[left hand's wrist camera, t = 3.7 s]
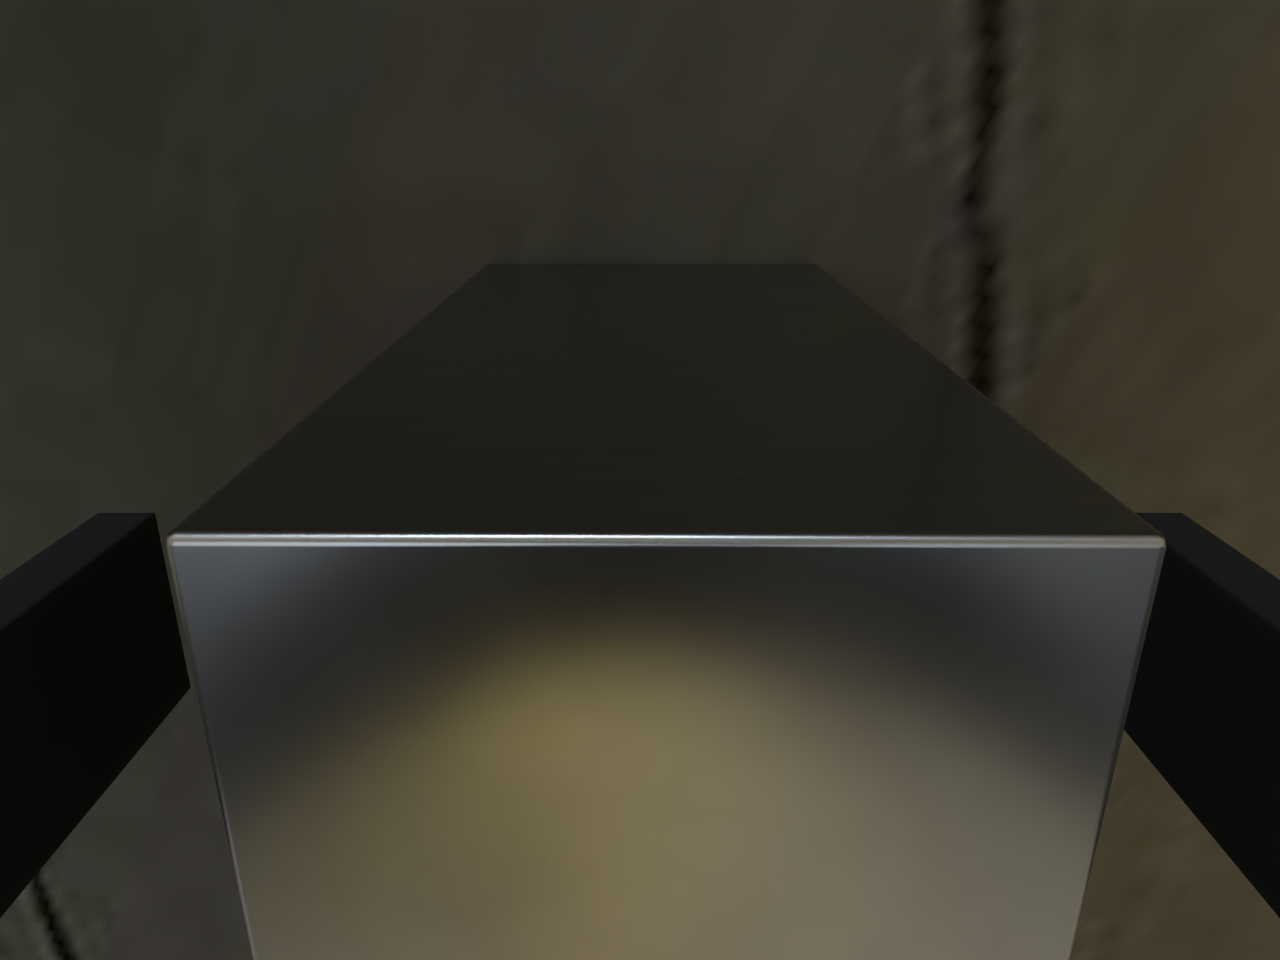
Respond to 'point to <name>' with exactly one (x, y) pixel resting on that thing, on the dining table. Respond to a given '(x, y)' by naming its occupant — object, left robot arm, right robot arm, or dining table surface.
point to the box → (662, 639)
